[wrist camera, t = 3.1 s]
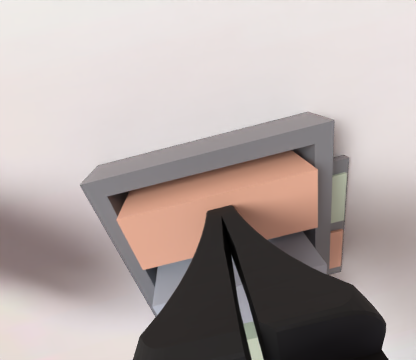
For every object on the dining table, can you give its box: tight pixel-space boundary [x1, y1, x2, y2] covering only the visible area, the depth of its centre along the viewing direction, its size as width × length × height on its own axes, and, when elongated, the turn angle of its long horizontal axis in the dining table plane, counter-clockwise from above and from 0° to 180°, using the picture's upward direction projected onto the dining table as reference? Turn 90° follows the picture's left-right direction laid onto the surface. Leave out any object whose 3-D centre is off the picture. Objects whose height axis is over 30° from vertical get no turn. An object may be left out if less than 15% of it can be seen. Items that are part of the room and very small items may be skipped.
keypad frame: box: [80, 112, 334, 317], centre depth 16 cm, size 18×13×3 cm
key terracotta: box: [116, 150, 318, 270], centre depth 13 cm, size 4×10×3 cm, turn 103°
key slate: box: [152, 231, 327, 324], centre depth 14 cm, size 4×10×3 cm, turn 103°
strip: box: [329, 155, 349, 274], centre depth 17 cm, size 11×2×1 cm, turn 13°
